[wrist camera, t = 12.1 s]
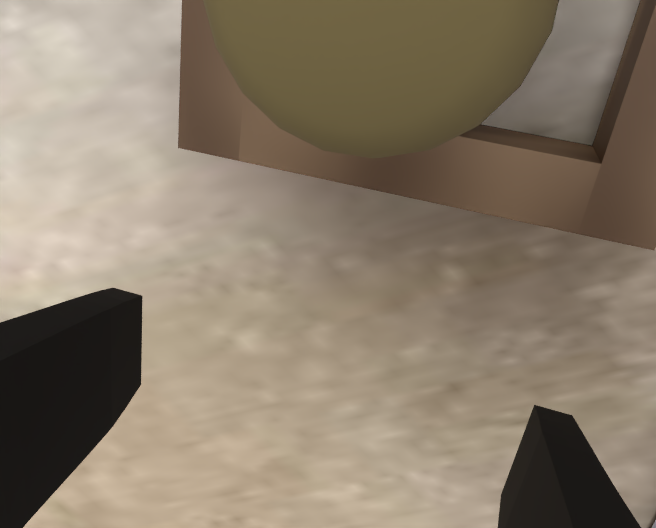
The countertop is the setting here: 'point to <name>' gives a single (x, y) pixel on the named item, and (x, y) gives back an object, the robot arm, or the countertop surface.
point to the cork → (379, 65)
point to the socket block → (458, 148)
